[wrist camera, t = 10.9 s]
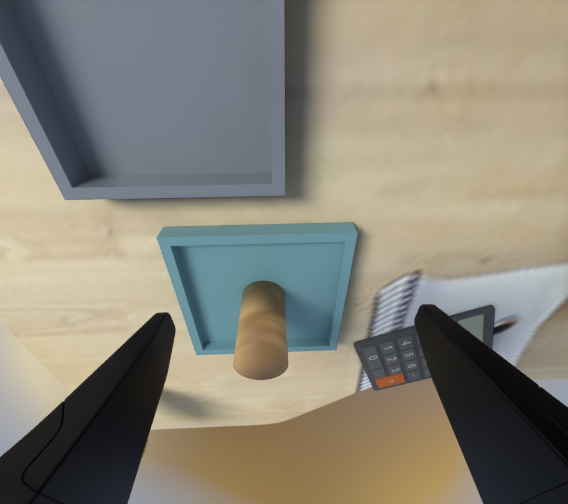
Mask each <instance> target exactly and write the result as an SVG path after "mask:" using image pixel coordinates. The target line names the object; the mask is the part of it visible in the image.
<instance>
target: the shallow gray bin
mask: <svg viewBox="0 0 568 504" xmlns="http://www.w3.org/2000/svg"><path fill="white" fill-rule="evenodd" d="M0 77H1V79H2V81H3V83H4V85H5V87H6V89H7V91H8V93H9V94H10V96H11V98H12V100H13V102H14V104H15V106H16V108H17V110H18V112H19V113H20V115H21V117H22V119H23V121H24V123H25V125H26V127H27V129H28V130H29V132H30V134H31V136H32V138H33V140H34V142H35V144H36V146H37V148H38V149H39V151H40V153H41V155H42V157H43V159H44V161H45V163H46V165H47V166H48V168H49V170H50V172H51V174H52V176H53V178H54V180H55V182H56V184H57V185H58V187H59V189H60V191H61V193H62V195H63V197H64V199H65V200H92V199H139V198H186V197H234V196H281V195H285V30H284V0H0Z"/></svg>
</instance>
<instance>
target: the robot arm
mask: <svg viewBox="0 0 568 504" xmlns="http://www.w3.org/2000/svg"><path fill="white" fill-rule="evenodd" d="M414 323H415V328H416V331H417V335H418V338H419V341H420V345H421V348H422V352H423V355H424V359H425V362H426V365H427V368H428V370H429V373H430V375H431V378H432V380H433V383H434V385H435V387H436V390H437V392H438V395H439V397H440V400H441V402H442V404H443V407H444V409H445V412H446V414H447V416H448V419H449V421H450V424H451V426H452V429H453V431H454V434H455V436H456V438H457V441H458V443H459V446H460V448H461V450H462V453H463V455H464V458H465V460H466V463H467V465H468V467H469V470H470V472H471V475H472V477H473V480H474V482H475V484H476V487H477V489H478V492H479V494H480V497H481V499H482V501H483V504H568V407H567V406H565V405H564V404H562V403H561V402H560V401H559V400H557V399H556V398H555V397H553V396H552V395H551V394H549V393H548V392H547V391H546V390H544V389H543V388H542V387H539V386H538V384H536V383H535V382H534V381H533V380H531V379H530V378H529V377H527V376H526V375H525V374H523V373H522V372H521V371H520V370H518V369H517V368H516V367H514V366H513V365H512V364H510V363H509V362H508V361H507V360H505V359H504V358H503V357H501V356H500V355H499V354H498V353H496V352H495V351H494V350H492V349H491V348H490V347H488V346H487V345H486V344H485V343H483V342H482V341H481V340H479V339H478V338H477V337H476V336H474V335H473V334H472V333H470V332H469V331H468V330H466V329H465V328H464V327H463V326H461V325H460V324H459V323H457V322H456V321H455V320H453V319H452V318H451V317H450V316H448V315H447V314H446V313H444V312H443V311H442V310H441V309H439V308H438V307H437V306H435V305H433V304H423V305H421V306H420V307H419V310H418V312H417V315H416V317H415V321H414ZM175 331H176V330H175V325H174V323H173V320H172V318H171V316H170V314H169V313H167V312H163V313H156V314H155V315H154V316H152V317H151V318H150V319H149V320H148V321H147V322H146V323H145V324H144V325H143V326H142V327H141V328H140V329H139V330H138V331H137V332H136V333H135V334H133V335H132V336H131V337H130V338H129V339H128V340H127V341H126V342H125V343H124V344H123V345H122V346H121V347H120V348H119V349H118V350H117V351H116V352H114V353H113V354H112V355H111V356H110V357H109V358H108V359H107V360H106V361H105V362H104V363H103V364H102V365H101V366H100V367H99V368H98V369H96V370H95V371H94V372H93V373H92V374H91V375H90V376H89V377H88V378H87V379H86V380H85V381H84V382H83V383H82V384H81V385H80V386H79V387H77V388H76V389H75V390H74V391H73V392H72V393H71V394H70V395H69V396H68V397H67V398H66V399H65V401H64V402H62V403H60V404H59V405H58V406H57V407H56V408H55V409H54V410H53V411H52V412H51V413H50V414H49V415H48V416H47V417H46V418H44V419H43V420H42V421H41V422H40V423H39V424H38V425H37V426H36V427H35V428H33V429H32V430H31V431H30V432H29V433H28V434H27V435H25V436H24V437H23V438H22V439H21V440H20V441H19V442H17V443H16V444H15V445H14V446H13V447H12V448H10V449H9V450H8V451H7V452H6V453H4V454H3V455H2V456H1V457H0V504H127V503H128V500H129V497H130V494H131V491H132V487H133V484H134V481H135V477H136V474H137V471H138V468H139V464H140V461H141V458H142V455H143V452H144V448H145V445H146V442H147V439H148V435H149V432H150V429H151V426H152V422H153V419H154V416H155V413H156V409H157V406H158V403H159V400H160V397H161V393H162V390H163V387H164V384H165V380H166V377H167V373H168V368H169V363H170V358H171V353H172V348H173V342H174V337H175Z"/></svg>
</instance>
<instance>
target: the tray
mask: <svg viewBox="0 0 568 504" xmlns="http://www.w3.org/2000/svg"><path fill="white" fill-rule="evenodd" d="M357 234H358V232H357V230H356V228H355V226H354V224H353V222H352V223H310V224H268V225H226V226H184V227H163V228H162V230H161V231H160V233H159V235H158V236H157V240H158V243H159V246H160V249H161V251H162V254H163V257H164V260H165V263H166V266H167V269H168V272H169V275H170V278H171V281H172V284H173V287H174V290H175V293H176V296H177V299H178V301H179V304H180V307H181V310H182V313H183V316H184V319H185V322H186V325H187V328H188V331H189V334H190V337H191V340H192V343H193V346H194V349H195V351H196V354H197V355H211V354H235V347H236V339H237V331H238V324H239V316H240V309H241V301H242V294H243V291H244V289H245V288H246V287H247V286H248V285H249V284H251V283H253V282H256V281H271V282H274V283H276V284H278V285H279V286H280V287H281V288H282V289H283V290H284V293H285V307H286V328H287V348H288V352H294V351H322V350H336V349H337V343H338V338H339V332H340V327H341V321H342V316H343V310H344V305H345V299H346V294H347V288H348V283H349V277H350V272H351V267H352V261H353V256H354V250H355V245H356V239H357Z"/></svg>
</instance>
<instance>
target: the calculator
mask: <svg viewBox="0 0 568 504" xmlns="http://www.w3.org/2000/svg"><path fill="white" fill-rule="evenodd" d="M494 315H495V308H494V307H493V306H492V305H488V306H485V307H481V308H477V309H474V310H470V311H466V312H463V313H459V314H455V315H452V316H450V317H451V318H452V319H453V320H455V321H456V322H457V323H459V324H460V325H461V326H463V327H464V328H465V329H466V330H468V331H469V332H470V333H472V334H473V335H474V336H476V337H477V338H478V339H479V340H481V341H482V342H483V343H485V344H486V345H487V346H488V347H490V348H491V349H492V343H493V329H494ZM354 347H355V349H356V352H357V354H358V356H359V358H360V360H361V363H362V365H363V367H364V369H365V371H366V374H367V376H368V378H369V380H370V382H371V384H372V387H373V389H374V390H381V389H385V388H389V387H394V386H397V385H402V384H406V383H411V382H415V381H418V380H423V379H427V378H431V375H430V373H429V370H428V368H427V365H426V362H425V359H424V355H423V352H422V348H421V345H420V341H419V338H418V335H417V331H416V328H415V326H411V327H408V328H404V329H401V330H397V331H393V332H390V333H386V334H382V335H379V336H375V337H371V338H368V339H364V340H360V341H357V342H355V343H354Z"/></svg>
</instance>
